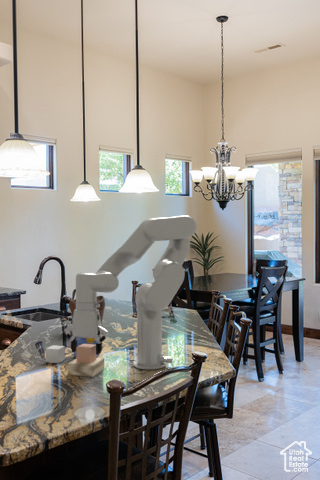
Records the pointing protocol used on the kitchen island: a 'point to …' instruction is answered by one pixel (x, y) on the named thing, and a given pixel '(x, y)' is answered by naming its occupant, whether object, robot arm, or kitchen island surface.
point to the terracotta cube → (86, 353)
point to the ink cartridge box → (85, 341)
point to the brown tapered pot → (101, 309)
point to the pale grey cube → (55, 354)
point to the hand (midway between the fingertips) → (86, 352)
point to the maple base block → (86, 367)
